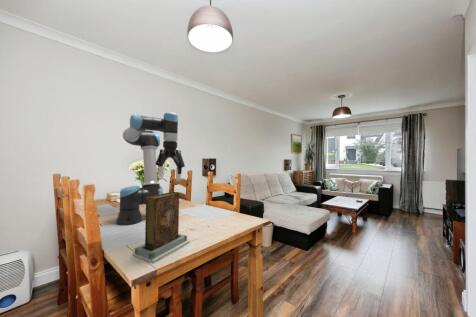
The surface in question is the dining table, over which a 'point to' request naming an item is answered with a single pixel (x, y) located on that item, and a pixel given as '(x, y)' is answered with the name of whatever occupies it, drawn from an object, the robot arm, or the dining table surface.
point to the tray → (161, 249)
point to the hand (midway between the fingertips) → (169, 178)
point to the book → (161, 220)
